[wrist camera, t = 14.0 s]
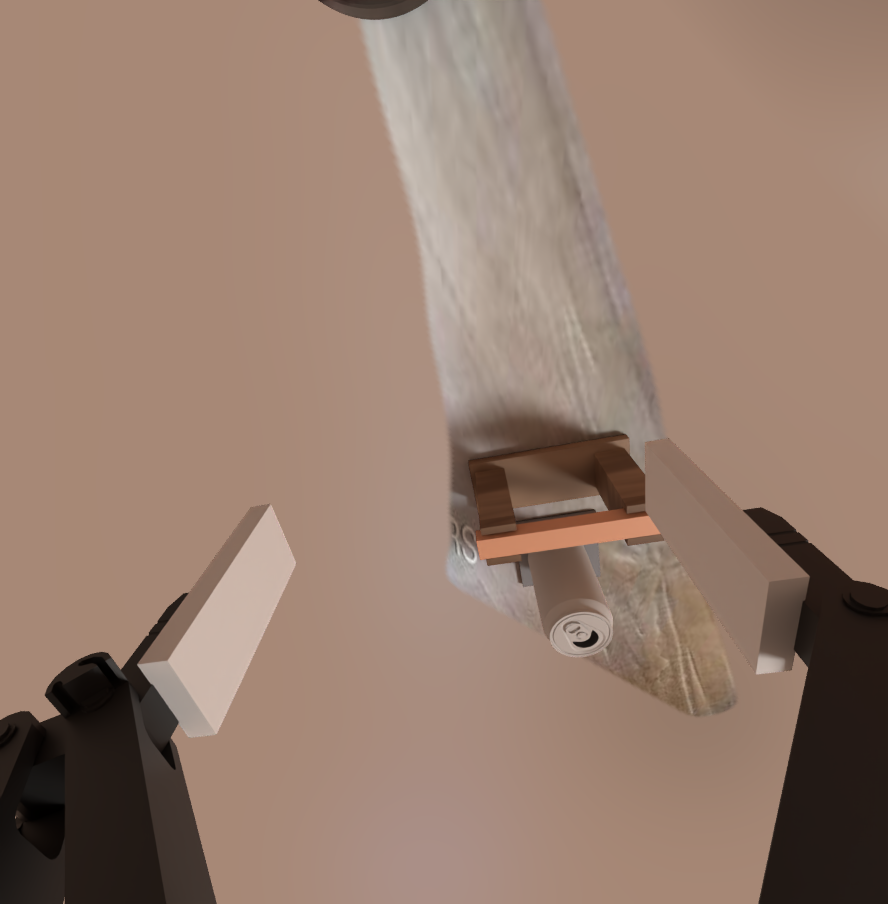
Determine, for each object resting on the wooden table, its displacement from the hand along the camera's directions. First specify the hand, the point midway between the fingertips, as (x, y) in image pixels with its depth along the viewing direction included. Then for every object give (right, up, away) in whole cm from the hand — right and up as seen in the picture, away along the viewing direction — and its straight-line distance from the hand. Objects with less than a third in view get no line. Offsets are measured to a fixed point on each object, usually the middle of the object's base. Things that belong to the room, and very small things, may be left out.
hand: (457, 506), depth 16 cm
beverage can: (+12, -9, +36) cm, 39 cm away
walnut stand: (+11, 0, +32) cm, 34 cm away
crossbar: (+10, -4, +23) cm, 26 cm away
